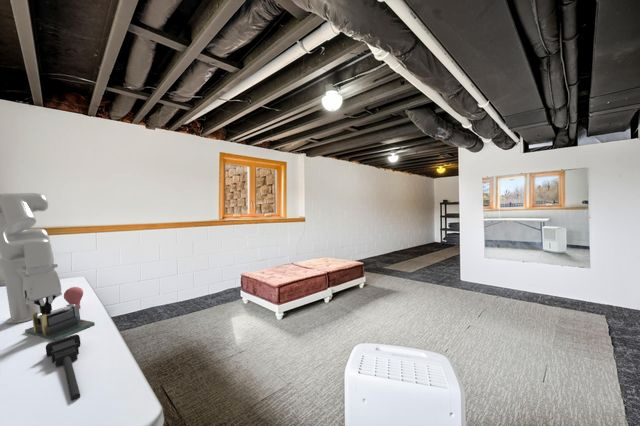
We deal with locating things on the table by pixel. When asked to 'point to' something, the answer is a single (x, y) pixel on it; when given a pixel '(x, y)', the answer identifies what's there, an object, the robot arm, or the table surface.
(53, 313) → the retention strap
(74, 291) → the light bulb
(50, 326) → the circuit board
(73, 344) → the electrical plug
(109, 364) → the table surface
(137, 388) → the table surface
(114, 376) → the table surface
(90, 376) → the table surface
